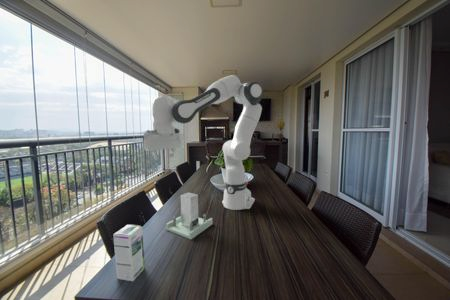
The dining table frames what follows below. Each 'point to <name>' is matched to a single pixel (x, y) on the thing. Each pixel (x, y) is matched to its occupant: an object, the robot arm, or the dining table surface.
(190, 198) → the white carton
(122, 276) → the syrup box
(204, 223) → the pin tray
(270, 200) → the dining table surface
